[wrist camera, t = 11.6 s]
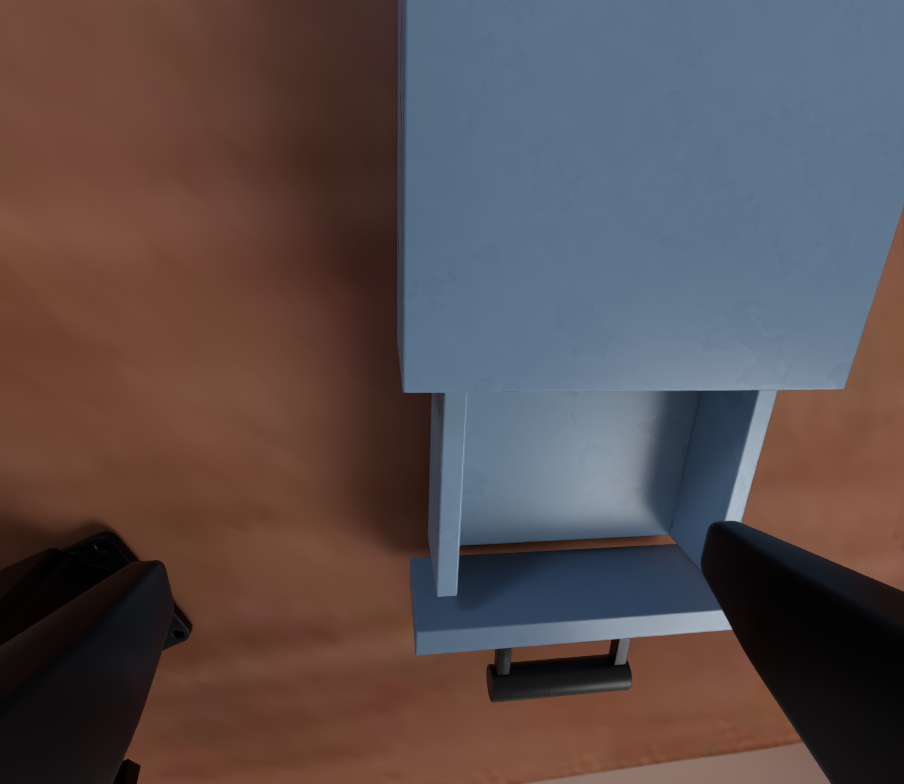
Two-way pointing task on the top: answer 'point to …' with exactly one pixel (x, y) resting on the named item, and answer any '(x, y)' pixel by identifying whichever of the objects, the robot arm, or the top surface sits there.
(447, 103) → the cabinet
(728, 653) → the top surface
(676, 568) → the drawer
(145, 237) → the top surface
